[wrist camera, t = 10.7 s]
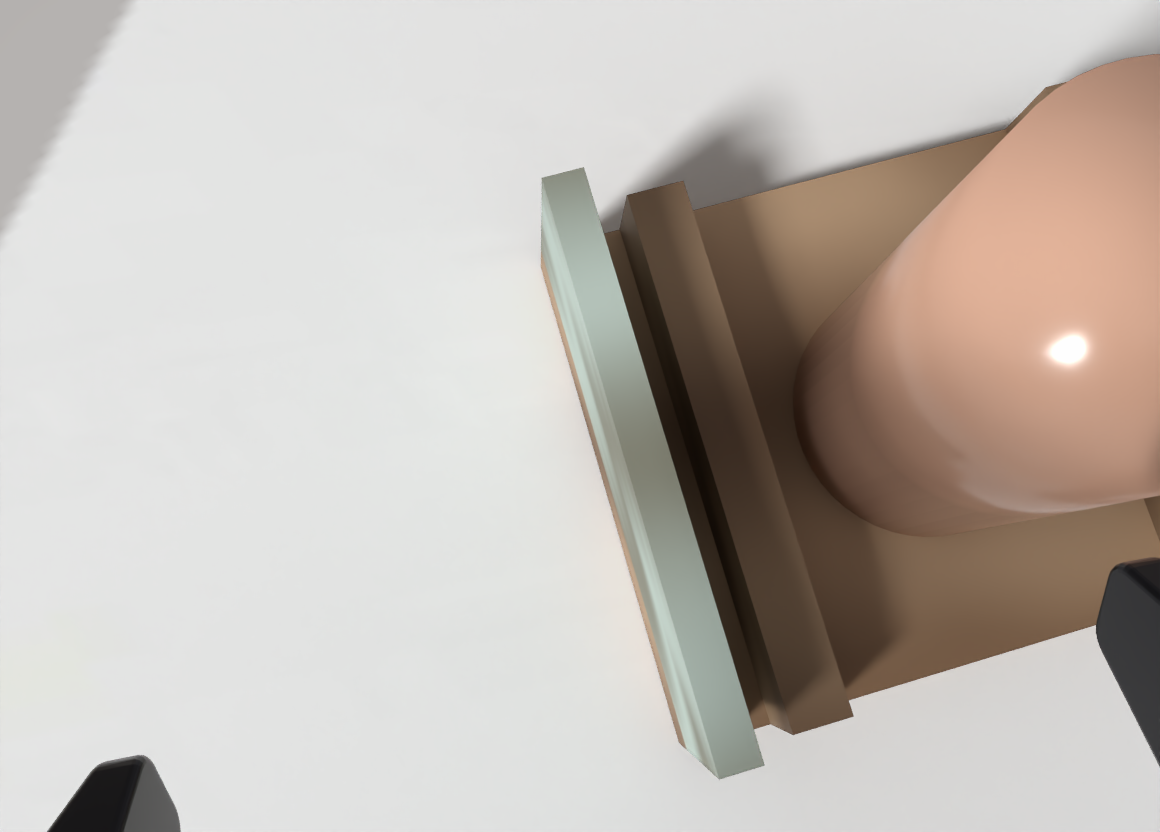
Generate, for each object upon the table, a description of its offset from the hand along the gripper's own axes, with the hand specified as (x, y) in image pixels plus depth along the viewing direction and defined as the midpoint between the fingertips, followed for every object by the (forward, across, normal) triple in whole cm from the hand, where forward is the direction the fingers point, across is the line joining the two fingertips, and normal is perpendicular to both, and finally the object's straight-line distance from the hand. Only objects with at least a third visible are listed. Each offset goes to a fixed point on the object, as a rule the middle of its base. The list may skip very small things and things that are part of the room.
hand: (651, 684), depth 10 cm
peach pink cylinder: (+11, -8, +6) cm, 15 cm away
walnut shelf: (+12, -8, +7) cm, 16 cm away
